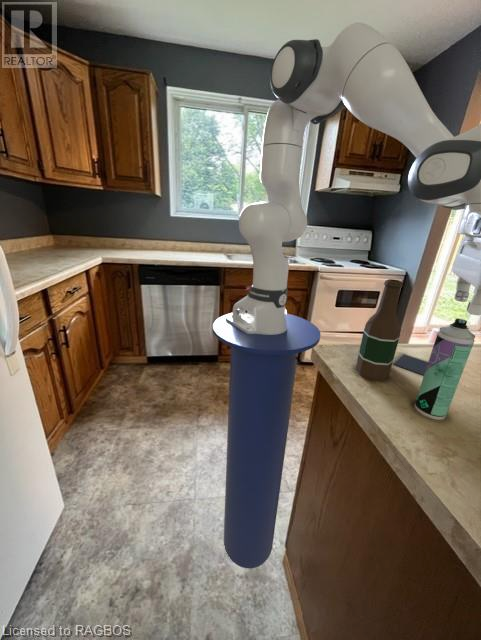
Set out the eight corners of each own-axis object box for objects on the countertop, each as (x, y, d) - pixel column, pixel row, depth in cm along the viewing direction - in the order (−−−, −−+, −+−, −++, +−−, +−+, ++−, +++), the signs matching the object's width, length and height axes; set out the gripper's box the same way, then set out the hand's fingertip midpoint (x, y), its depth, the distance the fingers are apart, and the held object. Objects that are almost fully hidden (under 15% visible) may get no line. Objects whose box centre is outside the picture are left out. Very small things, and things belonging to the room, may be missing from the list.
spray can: (434, 403, 58) (465, 315, 51) (452, 420, 53) (489, 326, 46) (408, 401, 58) (436, 314, 52) (424, 419, 53) (456, 324, 46)
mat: (393, 364, 74) (393, 363, 74) (403, 354, 80) (403, 354, 80) (436, 379, 67) (436, 379, 67) (444, 368, 73) (444, 367, 73)
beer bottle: (370, 383, 64) (395, 284, 56) (348, 367, 71) (367, 277, 63) (395, 379, 67) (422, 283, 59) (372, 363, 74) (393, 276, 65)
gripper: (455, 224, 54) (435, 292, 58) (489, 222, 36) (457, 319, 41) (496, 226, 51) (472, 297, 56) (553, 224, 34) (511, 327, 38)
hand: (466, 306), depth 48 cm, fingers open, 8 cm apart
